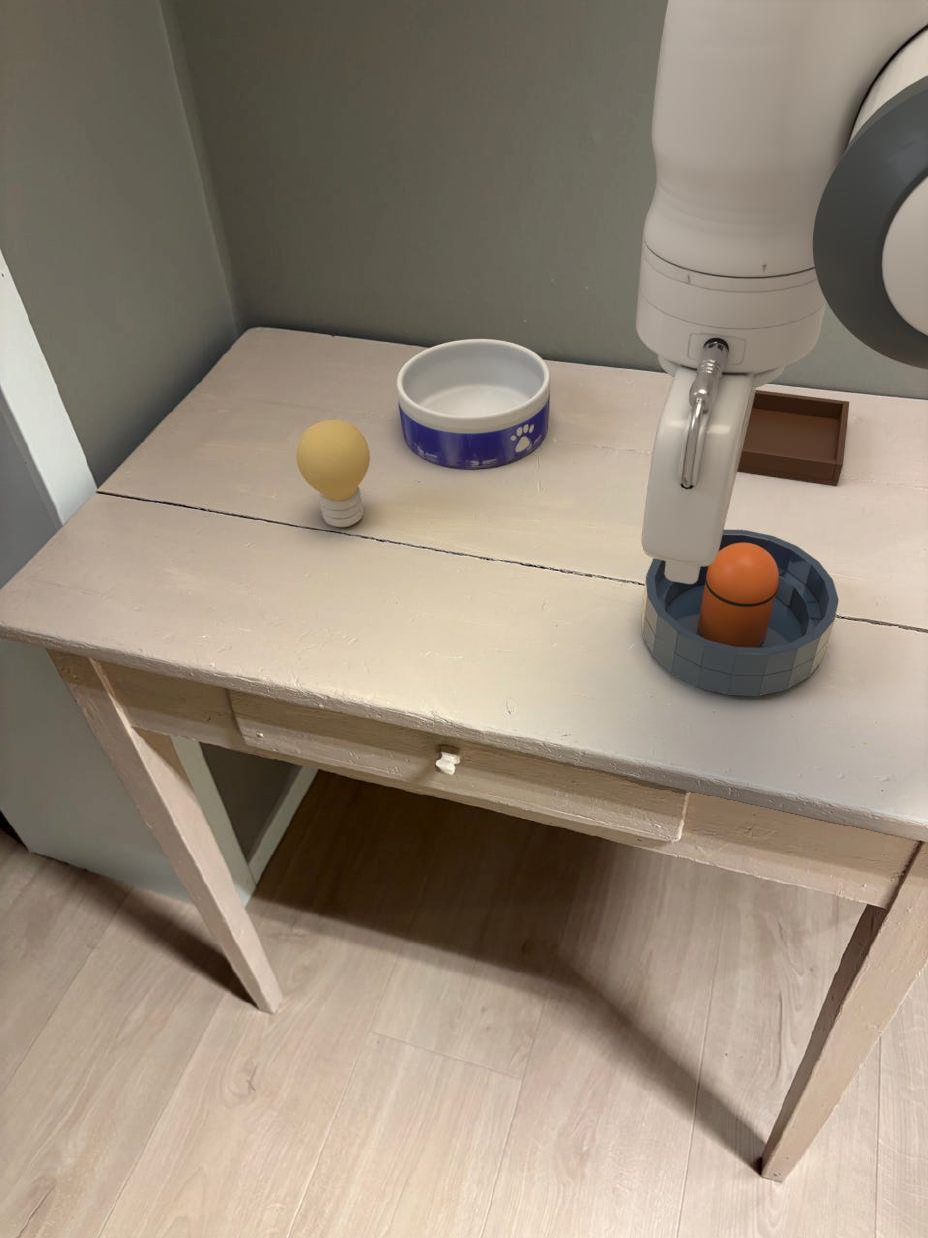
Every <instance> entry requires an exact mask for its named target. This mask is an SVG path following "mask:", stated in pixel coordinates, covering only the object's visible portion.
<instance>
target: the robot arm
mask: <svg viewBox="0 0 928 1238" xmlns="http://www.w3.org/2000/svg"><path fill="white" fill-rule="evenodd" d="M659 49H660V50H659V54H658V62H657V63H658V64H657V70H656V71H657V72H656V79H655V89H654V97H653V99H654V100H653V107H652V108H653V110H652V119H651V134H650V137H651V146H652V151H653V156H654V163H655V173H656V180H655V189H654V193H653V197H652V200H651V204H650V206H649V209H648V210H647V213H646V216H645V220H644V224H643V230H642V242H641V252H640V253H641V254H640V255H641V256H640V264H639V265H640V267H639V277H638V278H639V279H638V291H637V301H636V303H637V304H636V315H635V330H636V333H637V335H638V338H639V339H640V341H642V343H643V344H644V345H645V346H646V347H647V348H648V349H649V350H651V351H652V352H653V353H655V354H657V360H658V363H659V365H660V367H661V368H662V369H663V370H664V371H665V373H666V374H668V375H669V376H671V377H672V378H673V379H672V381H671V384H670V387H669V390H668V392H667V396H666V399H665V401H664V404H663V407H662V410H661V413H660V417H659V419H658V424H657V427H656V433H655V438H654V443H653V446H652V453H651V454H652V455H651V460H650V468H649V475H648V481H647V488H646V495H645V496H646V497H645V504H644V511H643V520H642V528H641V538H640V539H641V540H640V541H641V548H642V551H643V552H644V554H645V555H646V556H647V557H649V558H652V559H654V558H655V559H659V560H664V561H666V566H665V576H666V578H667V579H669V580H670V581H674V582H680V583H685V584H693V583H696V581H697V580H698V576H699V571H700V567H701V566H709V565H711V564H712V563H713V562H714V561H715V559H716V557H717V554H718V551H719V548H720V543H721V539H722V535H723V530H725V527H726V526H725V525H726V521H727V517H728V512H729V509H730V504H731V499H732V495H733V491H734V487H735V483H736V479H737V474H738V471H737V470H738V466H739V461H740V457H741V453H742V448H743V444H744V440H745V435H746V431H747V427H748V422H749V418H750V414H751V409H752V405H753V401H754V396H755V392H756V390H757V388H759V387H763V386H765V385H767V384H769V383H771V382H773V381H775V380H776V379H777V378H778V377H780V376H781V374H783V372H784V370H785V368H786V366H788V365H790V364H793V363H796V362H797V361H798V360H800V359H802V358H804V357H805V356H807V355H808V354H809V353H810V352H811V351H812V350H813V349H814V348H815V346H816V344H817V343H818V340H819V337H820V335H821V334H820V333H821V329H822V325H823V320H824V316H825V311H826V307H827V305H828V307H829V308H830V310H831V311H832V313H833V314H834V316H835V317H836V318H837V319H838V321H839V322H840V323H841V324H842V326H843V327H844V328H845V329H847V331H848V332H849V333H850V334H851V335H852V336H853V337H855V338H856V339H857V340H858V341H859V342H861V343H862V344H863V345H865V346H867V347H868V348H870V349H871V350H873V351H875V352H876V353H877V354H880V355H882V356H884V357H885V358H889V359H891V360H893V361H896V362H898V363H901V364H904V365H907V366H911V367H914V368H918V369H923V370H927V371H928V0H667V6H666V11H665V15H664V22H663V30H662V34H661V40H660V48H659Z"/></svg>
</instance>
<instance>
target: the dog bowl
mask: <svg viewBox="0 0 928 1238" xmlns="http://www.w3.org/2000/svg"><path fill="white" fill-rule="evenodd" d="M396 395H397V405H398V412H399V418H400V425H401V429H402V435H403V439H404V441H405V443H406V444H407V446H408V447H409V448H410V449H411V451H412V452H413V453H414V454H416V455H417V456H419V457H420V458H422V459H424V460H425V461H428V462H430V463H433V464H436V465H439V466H443V467H447V468H452V469H462V470H478V469H479V470H480V469H487V468H494V467H498V466H503V465H507V464H510V463H512V462H516V461H517V460H520V459H522V458H523V457H525V456H527V455H529V454H530V453H532V452H533V451H534V450H536V449H537V448H538V447H539V446H540V444H541V443H542V442H543V441H544V439H545V438H546V435H547V433H548V428H549V419H550V403H551V402H550V400H551V371H550V369H549V366H548V365H547V362H545V360H544V359H543V358H542V357H541V356H540V355H538V354H537V353H536V352H534V351H533V350H531V349H529V348H527V347H525V346H522V345H520V344H517V343H515V342H514V343H513V342H509V341H505V340H501V339H500V340H499V339H493V338H492V339H491V338H469V339H460V340H453V341H449V342H444V343H442V344H437V345H434V346H431V347H429V348H427V349H425V350H422V351H421V352H419V353H417V354H416V355H414V356H413V357H411V358H410V359H409V360H407V361H406V363H404V364H403V366H402V367H401V369H400V370H399V371H398V374H397V377H396Z"/></svg>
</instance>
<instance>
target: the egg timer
mask: <svg viewBox="0 0 928 1238" xmlns="http://www.w3.org/2000/svg"><path fill="white" fill-rule="evenodd" d="M778 582H779V571H778V567H777V564H776V562H775V560H774V559H773V557H772V556H771V555H770V554H769V553H768V552H767V551H766V550H765V549H763V548H762V547H760V546H758V545H755V544H751V543H735V544H731V545H729V546H727V547H725V548H723V549H722V550H720V551H719V552H718V554H717V557H716V559H715V561H714V562H713V563H712V564H711V565H709V567H708V570H707V573H706V577H705V587H704V593H703V599H702V605H701V611H700V617H699V623H698V628H699V631H700V634H701V636H702V637H703V638H705V639H707V640H710V641H714V642H718V643H722V644H726V645H730V646H734V647H755V648H756V647H758V646H759V645H760V644H761V643H762V642H763V641H764V639H765V637H766V633H767V629H768V625H769V621H770V616H771V612H772V608H773V604H774V600H775V596H776V593H777V590H778Z"/></svg>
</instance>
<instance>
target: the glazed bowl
mask: <svg viewBox="0 0 928 1238" xmlns="http://www.w3.org/2000/svg"><path fill="white" fill-rule="evenodd" d="M735 543H751V544H755V545H758V546H760V547H762V548H763V549H765V550H766V551H767V552H768V553H769V554H770V555H771V556H772V557H773V559H774V560H775V562H776V564H777V567H778V571H779V582H778V590H777V593H776V596H775V600H774V604H773V608H772V612H771V616H770V621H769V625H768V629H767V633H766V637H765V639H764V641H763V642H762V643H761V644H760V645H759V646H758V647H756V648H755V647H734V646H730V645H726V644H722V643H718V642H714V641H710V640H707V639H705V638H703V637H702V636H701V634H700V631H699V628H698V623H699V617H700V611H701V605H702V599H703V593H704V587H705V577H706V573H707V570H708V567H709V566H701V567H700V571H699V576H698V580H697V581H696V583H693V584H685V583H680V582H674V581H670V580H669V579H667V578H666V576H665V566H666V561H664V560H659V559H655V558H652V560H651V562H650V565H649V567H648V570H647V573H646V574H645V580H644V587H643V588H644V589H643V599H642V607H641V615H640V616H641V617H640V618H641V635H642V638H643V639H644V641H645V643H646V645H647V647H648V649H649V651H650V653H651V655H652V656H653V657H654V658H655V659H656V660H657V661H658V662H659V663H660V664H661V665H662V666H663V667H664V668H665V669H666V670H667V671H669V673H671V674H672V675H674V676H676V677H677V678H679V679H681V680H683V681H685V682H686V683H689V684H691V685H693V686H694V687H697V688H700V689H702V690H703V689H704V690H707V691H711V692H714V693H718V694H722V695H726V696H746V697H747V696H748V697H750V696H751V697H758V696H764V695H769V694H773V693H774V694H775V693H779V692H782V691H786V690H788V689H790V688H792V687H793V686H795V685H797V684H799V683H800V682H803V681H805V680H806V679H808V678H809V677H810V676H811V675H812V673H814V671H815V670H816V669H817V667H818V666H819V665H820V664H821V662H822V661H823V658H824V655H825V652H826V649H827V646H828V644H829V643H828V642H829V639H830V637H831V633H832V629H833V627H834V623H835V620H836V615H837V611H838V606H839V595H838V592H837V590H836V585H835V582H834V580H833V578H832V577H831V575H830V574H829V572H828V571H827V570H826V569H825V568H824V566H823V565H822V563H821V562H820V561H819V560H818V559H816V558H815V557H814V556H811V555H810V554H809V553H807V552H806V551H805V550H804V549H802V548H801V547H800V546H798V545H796V544H794V543H791V542H788V541H786V540H784V539H781V538H780V537H777V536H775V535H770V534H767V533H763V532H762V533H760V532H757V531H751V530H748V529H724V530H723V535H722V539H721V543H720V548H719V551H720V550H722V549H723V548H725V547H727V546H729V545H731V544H735ZM719 551H718V552H719Z"/></svg>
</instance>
